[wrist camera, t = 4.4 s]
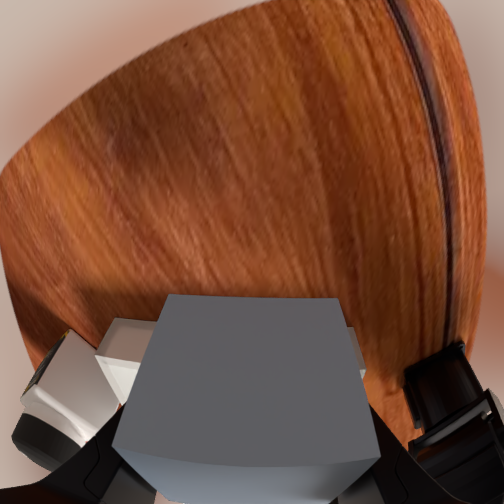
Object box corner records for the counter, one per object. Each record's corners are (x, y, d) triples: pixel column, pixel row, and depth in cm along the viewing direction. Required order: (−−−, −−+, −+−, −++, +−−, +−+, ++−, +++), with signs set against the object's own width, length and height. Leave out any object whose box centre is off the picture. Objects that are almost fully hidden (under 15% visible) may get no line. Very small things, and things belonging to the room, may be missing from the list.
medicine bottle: (70, 326, 21) (7, 436, 11) (131, 374, 24) (92, 487, 13) (48, 351, 24) (-1, 439, 13) (99, 391, 26) (64, 482, 15)
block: (337, 298, 8) (381, 456, 4) (313, 393, 11) (324, 506, 6) (169, 293, 8) (111, 446, 4) (190, 390, 11) (169, 500, 6)
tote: (353, 326, 20) (366, 369, 16) (320, 419, 26) (324, 451, 23) (114, 317, 20) (94, 354, 17) (153, 410, 27) (145, 441, 23)
